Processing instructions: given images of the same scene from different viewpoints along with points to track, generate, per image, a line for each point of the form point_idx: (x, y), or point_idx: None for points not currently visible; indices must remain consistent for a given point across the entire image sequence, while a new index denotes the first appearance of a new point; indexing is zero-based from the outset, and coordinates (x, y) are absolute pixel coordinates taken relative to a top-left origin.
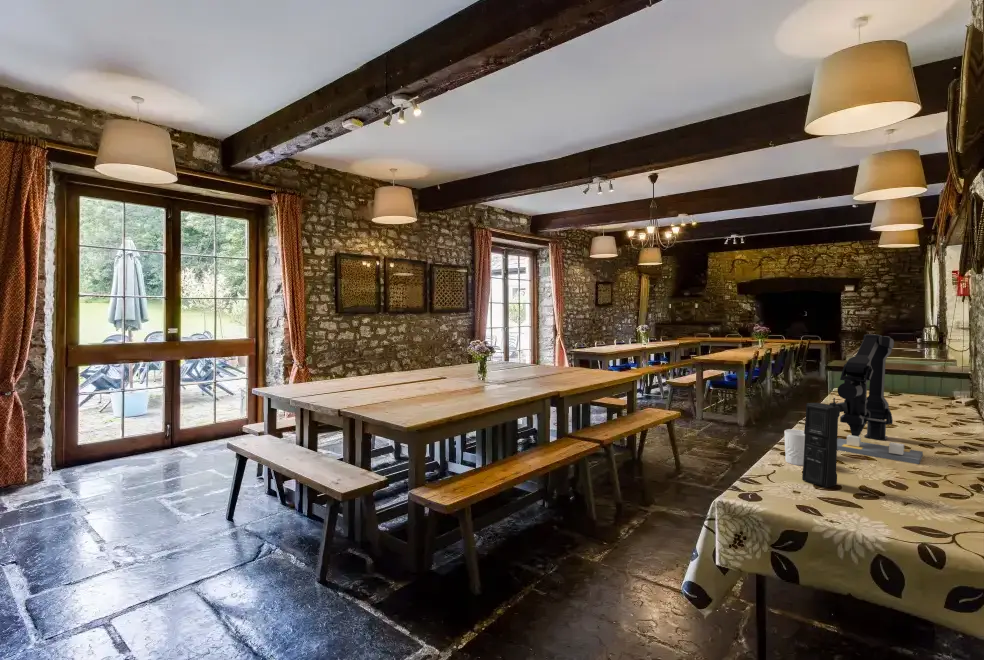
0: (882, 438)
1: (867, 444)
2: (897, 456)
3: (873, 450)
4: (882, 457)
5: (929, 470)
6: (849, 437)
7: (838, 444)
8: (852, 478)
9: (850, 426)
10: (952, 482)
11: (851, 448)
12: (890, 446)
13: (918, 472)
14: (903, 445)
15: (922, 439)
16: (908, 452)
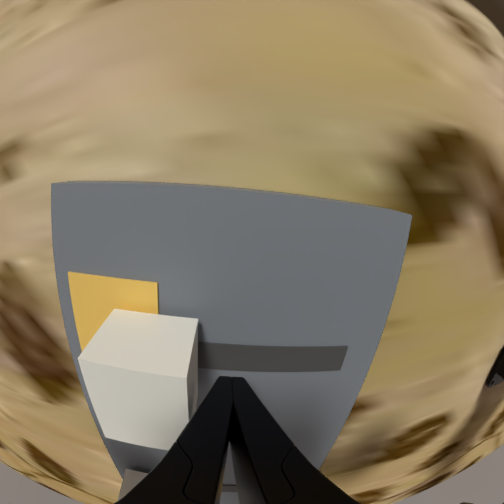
0: (496, 377)
1: (300, 410)
2: (121, 474)
3: None
4: None
5: (91, 483)
6: (88, 374)
7: (113, 239)
8: None
9: (130, 497)
10: (40, 476)
11: (67, 334)
12: (120, 497)
13: (42, 457)
14: None
15: (498, 420)
16: (233, 500)
